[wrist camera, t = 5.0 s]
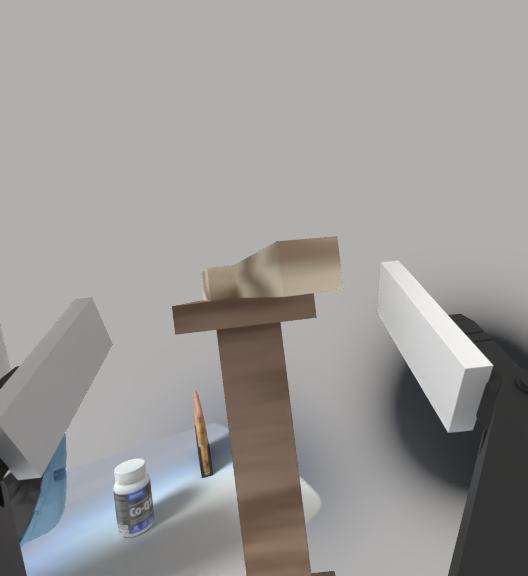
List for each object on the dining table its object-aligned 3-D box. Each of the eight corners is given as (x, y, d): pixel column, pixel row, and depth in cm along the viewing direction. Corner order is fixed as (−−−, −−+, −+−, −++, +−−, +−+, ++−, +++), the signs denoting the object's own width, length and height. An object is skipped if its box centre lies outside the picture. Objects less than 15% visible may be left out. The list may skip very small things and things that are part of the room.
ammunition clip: (197, 450, 66) (190, 390, 66) (207, 448, 67) (199, 388, 67) (201, 478, 56) (193, 407, 56) (212, 475, 56) (204, 405, 56)
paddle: (380, 284, 16) (374, 233, 16) (239, 302, 14) (232, 245, 14) (276, 291, 33) (272, 266, 33) (204, 300, 31) (200, 273, 31)
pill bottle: (135, 542, 43) (127, 477, 43) (110, 534, 45) (103, 472, 45) (162, 517, 47) (155, 458, 47) (138, 511, 49) (131, 454, 49)
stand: (365, 713, 23) (313, 289, 23) (223, 728, 23) (171, 306, 23) (336, 585, 33) (299, 288, 33) (237, 596, 33) (200, 300, 33)
